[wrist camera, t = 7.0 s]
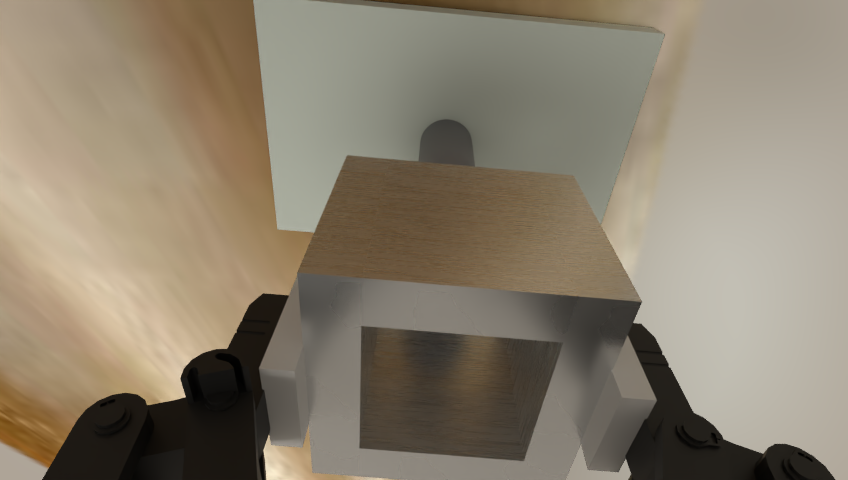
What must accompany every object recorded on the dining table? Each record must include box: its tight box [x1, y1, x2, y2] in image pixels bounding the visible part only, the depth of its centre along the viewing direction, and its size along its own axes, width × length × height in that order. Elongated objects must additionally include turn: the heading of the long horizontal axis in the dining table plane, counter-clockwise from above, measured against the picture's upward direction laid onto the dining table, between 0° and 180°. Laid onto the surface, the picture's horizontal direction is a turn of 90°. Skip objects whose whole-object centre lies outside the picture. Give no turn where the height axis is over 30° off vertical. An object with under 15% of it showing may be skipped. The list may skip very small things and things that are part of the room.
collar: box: [297, 155, 642, 480], centre depth 14 cm, size 7×7×6 cm
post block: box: [253, 0, 665, 232], centre depth 21 cm, size 12×18×12 cm, turn 85°
